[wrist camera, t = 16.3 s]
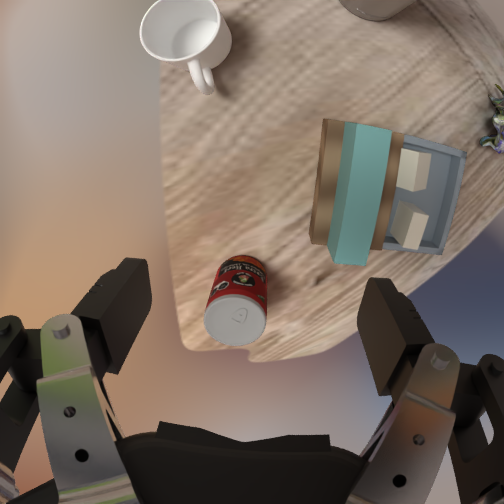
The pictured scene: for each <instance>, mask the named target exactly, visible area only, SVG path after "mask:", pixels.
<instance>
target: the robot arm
mask: <svg viewBox="0 0 504 504" xmlns="http://www.w3.org/2000/svg"><path fill="white" fill-rule="evenodd" d="M339 1H340V2H341V3H342V5H343V6H344V7H345V8H347V9H348V10H349V11H350V12H352V13H353V14H355V15H357V16H359V17H361V18H364V19H367V20H372V21H382V20H387V19H389V18H391V17H392V16H394V15H395V14H397V13H398V12H400V11H401V10H403V9H405V8H406V7H408V6H409V5H411V4H412V3H414V2H416V1H417V0H339ZM151 303H152V293H151V286H150V279H149V271H148V264H147V261H146V260H145V259H137V258H125V259H124V260H123V261H122V262H121V263H120V264H119V266H118V267H117V268H116V269H112V270H110V271H109V272H107V273H105V274H104V275H102V276H101V277H100V278H99V279H98V280H97V282H96V283H95V285H94V286H92V288H91V289H90V290H89V293H87V294H86V295H85V296H84V297H83V299H82V300H81V301H80V302H79V304H78V305H77V306H76V307H75V309H74V310H73V311H72V312H71V314H62V315H57V316H55V317H52V318H51V319H49V320H48V321H47V322H46V323H45V324H44V325H43V326H42V328H41V329H24V326H23V324H22V322H21V320H20V319H19V317H17V316H13V315H9V316H4V317H2V318H0V383H1V381H2V379H3V377H4V376H5V374H6V373H7V371H8V372H9V374H10V375H11V377H12V378H13V381H12V383H11V384H10V386H9V388H8V389H7V391H6V393H5V395H4V397H3V398H2V400H1V402H0V504H424V503H425V501H426V499H427V497H428V495H429V493H430V490H431V488H432V486H433V483H434V481H435V478H436V476H437V473H438V470H439V468H440V465H441V463H442V460H443V457H444V454H445V451H446V448H447V445H448V449H449V452H450V456H451V460H452V464H453V469H454V473H455V477H456V482H457V486H458V491H459V496H460V502H461V504H504V360H503V359H502V358H500V357H498V356H496V355H493V354H486V355H484V356H483V357H482V358H481V359H480V361H479V362H478V364H477V365H471V364H465V363H460V361H459V358H458V356H457V355H456V353H455V352H454V351H453V350H451V349H450V348H449V347H447V346H445V345H442V344H439V343H435V341H434V339H433V338H432V336H431V334H430V332H429V331H428V329H427V327H426V325H425V324H424V322H423V320H422V319H421V317H420V315H419V313H418V312H416V309H415V307H414V305H413V304H412V302H411V300H409V299H408V298H407V297H406V296H405V295H404V294H403V293H401V292H398V291H397V289H396V287H395V286H394V284H393V282H392V281H391V279H389V278H373V277H371V278H369V280H368V282H367V284H366V288H365V291H364V295H363V298H362V301H361V305H360V308H359V311H358V316H357V327H358V330H359V333H360V336H361V339H362V343H363V346H364V349H365V352H366V355H367V358H368V361H369V365H370V368H371V371H372V374H373V378H374V381H375V384H376V388H377V391H378V395H379V396H387V395H391V397H392V402H391V403H390V405H389V407H388V408H387V410H386V412H385V414H384V416H383V418H382V419H381V421H380V423H379V425H378V427H377V428H376V430H375V432H374V434H373V435H372V437H371V439H370V440H369V442H368V444H367V445H366V447H365V448H364V449H363V451H362V452H361V454H360V455H359V456H358V455H356V454H354V453H353V452H350V451H348V450H345V449H341V448H339V447H335V446H330V437H329V435H286V436H281V437H275V438H270V439H264V440H258V441H251V442H240V441H237V440H233V439H230V438H227V437H224V436H221V435H218V434H215V433H213V432H210V431H207V430H204V429H201V428H197V427H190V426H184V425H177V424H172V423H167V422H162V421H160V422H159V425H158V428H157V432H147V433H140V434H135V435H132V436H129V437H125V435H124V433H123V431H122V429H121V426H120V424H119V421H118V419H117V417H116V414H115V411H114V409H113V406H112V403H111V400H110V397H109V395H108V392H107V389H106V386H105V383H104V381H103V377H104V375H105V373H106V372H109V373H113V374H117V375H118V374H119V371H120V369H121V367H122V365H123V363H124V361H125V359H126V357H127V355H128V353H129V351H130V349H131V347H132V344H133V343H134V341H135V339H136V337H137V335H138V333H139V331H140V329H141V327H142V325H143V323H144V321H145V319H146V317H147V315H148V313H149V311H150V308H151ZM485 411H487V414H488V416H489V419H490V421H491V424H492V426H493V430H494V436H493V440H492V442H491V443H490V444H489V445H488V442H487V439H486V436H485V433H484V430H483V428H482V425H481V422H480V419H479V418H480V417H481V416H482V415H483V413H484V412H485ZM39 412H40V416H41V422H42V428H43V433H44V438H45V443H46V448H47V452H48V457H49V461H50V465H51V469H52V472H53V476H54V478H53V479H51V480H49V481H48V482H46V483H44V484H42V485H40V486H38V487H36V488H34V489H32V490H30V491H28V492H26V493H24V494H22V495H20V496H19V490H18V488H17V486H15V479H14V476H13V473H14V471H15V468H16V465H17V463H18V460H19V458H20V455H21V453H22V450H23V448H24V445H25V443H26V441H27V438H28V436H29V434H30V431H31V429H32V427H33V425H34V423H35V421H36V418H37V416H38V414H39Z"/></svg>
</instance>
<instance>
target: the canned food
mask: <svg viewBox="0 0 504 504" xmlns="http://www.w3.org/2000/svg"><path fill="white" fill-rule="evenodd" d="M266 316H267V274H266V272H265V269H264V268H263V266H262V265H261V264H260V263H259V262H258V261H257V260H255V259H254V258H251V257H248V256H235V257H232V258H230V259H228V260H226V261H225V262H224V263H223V264H222V265H221V266H220V267H219V269H218V271H217V274H216V277H215V280H214V283H213V286H212V290H211V293H210V296H209V299H208V302H207V306H206V310H205V314H204V325H205V328H206V330H207V332H208V333H209V335H210V336H211V337H212V338H214V339H215V340H217V341H218V342H220V343H223V344H226V345H231V346H242V345H246V344H250V343H252V342H254V341H255V340H257V339H258V338H259V337H260V336H261V335H262V333H263V332H264V329H265V326H266Z"/></svg>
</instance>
